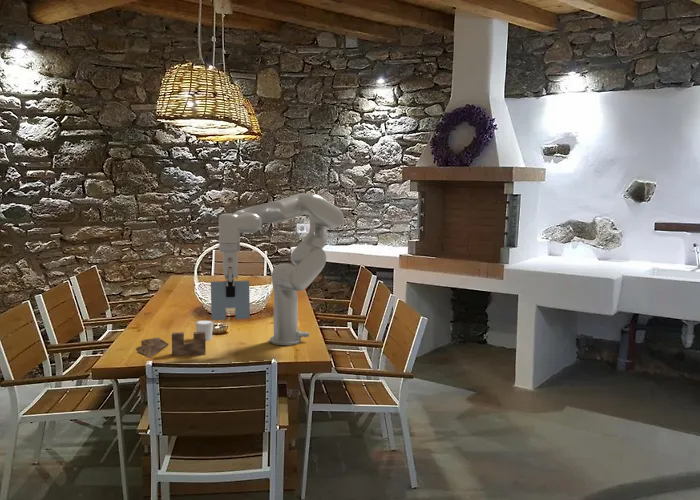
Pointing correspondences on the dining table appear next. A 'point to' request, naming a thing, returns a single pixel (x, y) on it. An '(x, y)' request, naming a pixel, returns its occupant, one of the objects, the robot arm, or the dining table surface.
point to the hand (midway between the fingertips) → (230, 295)
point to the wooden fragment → (151, 346)
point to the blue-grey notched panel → (230, 300)
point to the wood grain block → (188, 344)
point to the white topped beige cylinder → (205, 328)
